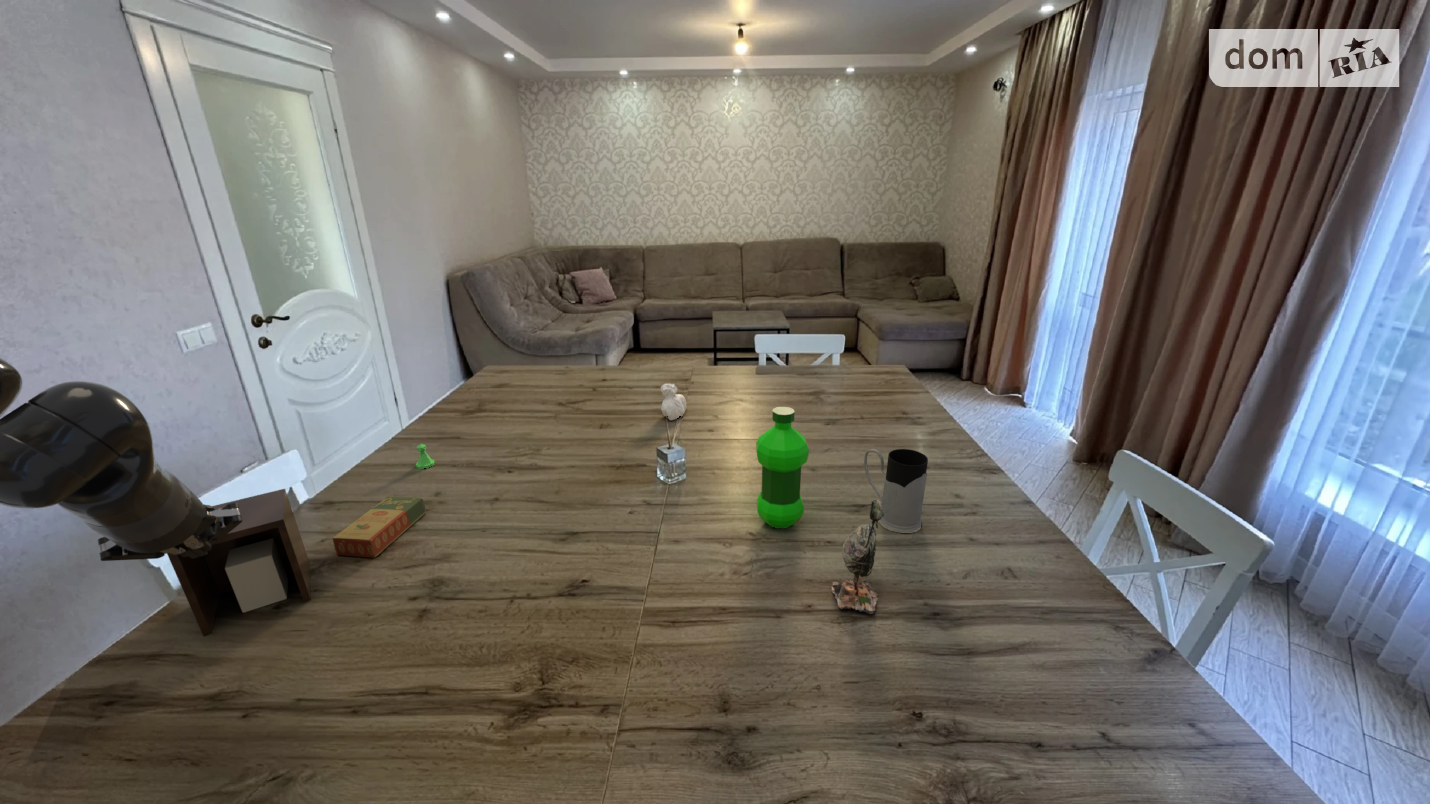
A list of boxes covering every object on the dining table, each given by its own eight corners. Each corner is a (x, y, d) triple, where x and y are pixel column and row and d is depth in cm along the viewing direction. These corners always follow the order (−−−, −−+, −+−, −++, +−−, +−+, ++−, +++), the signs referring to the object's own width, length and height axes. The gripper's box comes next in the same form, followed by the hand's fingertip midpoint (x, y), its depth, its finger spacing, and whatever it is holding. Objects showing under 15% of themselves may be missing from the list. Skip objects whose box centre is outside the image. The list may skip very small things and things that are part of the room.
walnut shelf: (203, 636, 86) (165, 550, 81) (212, 593, 96) (179, 513, 90) (310, 600, 94) (283, 519, 88) (310, 564, 103) (285, 488, 97)
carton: (336, 556, 105) (330, 537, 104) (391, 511, 120) (387, 493, 119) (376, 558, 104) (370, 539, 103) (427, 513, 119) (423, 495, 118)
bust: (681, 415, 175) (661, 386, 175) (698, 404, 171) (677, 374, 171) (663, 429, 165) (642, 398, 165) (680, 418, 161) (658, 386, 161)
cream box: (242, 613, 91) (224, 568, 88) (246, 592, 96) (229, 549, 93) (287, 598, 94) (271, 555, 91) (288, 579, 99) (273, 537, 96)
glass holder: (906, 539, 109) (915, 471, 103) (848, 509, 119) (853, 447, 114) (930, 523, 114) (940, 458, 108) (872, 496, 124) (879, 435, 119)
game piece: (427, 469, 138) (423, 448, 136) (412, 468, 138) (407, 447, 136) (438, 462, 142) (434, 440, 140) (423, 460, 142) (418, 439, 140)
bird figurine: (883, 578, 98) (895, 479, 91) (874, 621, 88) (887, 514, 81) (837, 567, 101) (845, 470, 94) (823, 608, 91) (832, 503, 84)
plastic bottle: (799, 539, 109) (806, 423, 100) (748, 530, 112) (750, 417, 103) (808, 513, 118) (815, 404, 109) (760, 505, 121) (763, 399, 112)
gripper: (217, 457, 63) (256, 506, 76) (47, 495, 55) (124, 542, 69) (230, 517, 60) (268, 556, 74) (55, 565, 53) (133, 599, 67)
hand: (198, 549), depth 72 cm, fingers closed
